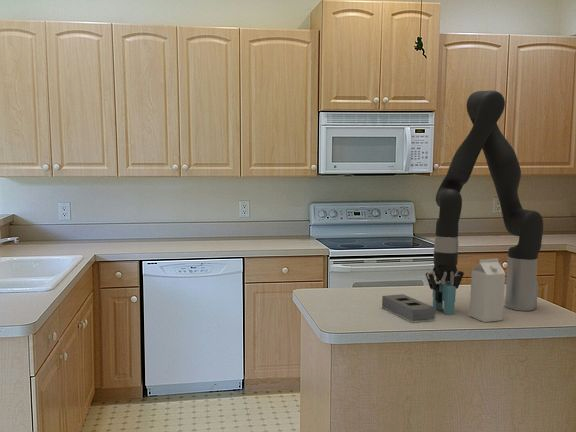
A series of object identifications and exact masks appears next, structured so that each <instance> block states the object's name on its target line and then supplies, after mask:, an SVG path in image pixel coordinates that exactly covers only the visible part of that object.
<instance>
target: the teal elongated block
mask: <svg viewBox="0 0 576 432" xmlns="http://www.w3.org/2000/svg"><path fill="white" fill-rule="evenodd" d="M456 292H457V289H456V287H455V286H452V285H449V284H446V283H444V285H443V288H442V303H437V302H436V300H435V290H433V289H432V307H434V308H435V311H438V310H443V315H447V316H448V315H454V314H455V303H456V297H457V296H456V295H457V293H456Z"/></svg>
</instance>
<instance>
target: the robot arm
mask: <svg viewBox="0 0 576 432" xmlns="http://www.w3.org/2000/svg"><path fill="white" fill-rule="evenodd" d="M505 107H506V100H505V98H504V96H503V94H502V93H501V92H499V91H496V90H479V91H478V90H477V91H474V92H472V93H471V94H470V95H469V96H468V98H467V100H466V112H467V114H468V117H469V119H470V121H471V123H472V128H471V129H470V131H469V133H468V135H467V136H466V138H465V139H464V140H463V141H462V142H461V144H460V145H459V147H458V148H457V149H456V151H455V153H454V155H453V157H452V160H451V162H450V165H449V167H448V170H447V173H446V175H445V177H444V178H443V180H442V181H441V184H440V185H439V187H438V190H437V191H436V194H435V203H436V206H438V207H439V213H438V214H439V215H438V218H437V219H436V223H435V235H434V237H435V238H434V243H433V244H434V245H433V246H434V248H433V264H434V266H433V268H432V270H431V271H430V272H426V273H425V277H426V280H427V282H428V285H429V289H430V290H432V291H433V290H435V300H436V302H437V303H442V288H443V285H444V283H446V284H449V285H452V286H455V287H456V290H457V289H458V288H459V286H460V284H461V282H462V279H463V277H464V274H465V273H464V272H463V271H461V270H458V268H457V265H458V262H459V261H458V259H459V223H460V222H459V221H460V217H461V214H462V207H463V198H462V194H461V191H462V189H463V186H464V185H465V184H467V183H468V182H469V180H470V177H471V175H472V173H473V170H474V167H475V166H476V165H475V164H476V163H477V160H478V158H479V156H480V153H481V151H482V152H483V154H484V158H485V161H486V164H487V167H488V170H489V173H490V176H491V179H492V181H493V184H494V185H493V186H494V188H495V191H496V194H497V198H498V201H499V205H500V210H501V216H502V220H503V223H504V227H505V229H506V231H507V232H508V233H509V234H510V235H512V236H514V237H518V242H517V244H516V245H515V246H511V247H509V248H508V252H507V266H506V267H507V269H506V270H507V271H506V280H505V297H504V299H505V300H504V306H505V307H506V308H508V309H509V310H515V311H521V312H522V311H523V312H524V311H525V312H530V311H534V310H536V309H537V308H538V306H537V305H538V294H539V293H538V292H539V280H537V273H538V272H537V271H538V260H539V259H538V258H539V253H540V251H541V248H542V242H543V241H542V240H543V232H544V219H543V216H542V215H541V213H540V212H539V211H536V210H529V209H524V208H523V206H522V204H521V201H520V198H519V193H518V192H519V191H518V190H519V185H520V183H521V177H522V171H521V166H520V162H519V160H518V159H519V158H518V157H517V154H516V152H515V150H514V148H513V147H512V145H511V143H510V142H509V141H508V139H506V137H505V136H504V134H503V133H502V132H501V130H500V128H499V124H498V122H499V120H500V118H501V117H502V114H503V113H504V110H505Z"/></svg>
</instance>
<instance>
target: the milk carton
mask: <svg viewBox="0 0 576 432" xmlns="http://www.w3.org/2000/svg"><path fill="white" fill-rule="evenodd" d="M470 278H471V279H470V297H469V298H470V299H469V317H471V318H473V319H476V320H477V321H478V320H479V321H481V322H483V323H488V322H489V323H490V322H498V321H503V317H504V305H505V300H504V299H505V288H506V272H505V270H504V269H503V267H502V265H501V263H499V258H484V259H483V258H482V259H481V258H480V259H479V262H478V264H476V266H474V267H473V268H472V269H471V277H470Z"/></svg>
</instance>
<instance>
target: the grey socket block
mask: <svg viewBox="0 0 576 432" xmlns="http://www.w3.org/2000/svg"><path fill="white" fill-rule="evenodd" d="M381 298H382V299H381V308H382V309H384V310H386V311H388V312H390V313H392V314H394V315H396V316H397V317H400V318H402V319H403V320H405V321H408V322H409V323H412V324H415V323H425V322H426V323H427V322H432V321H433V322H435V320H436V317H435V316H436V310H435V308H434V307H433V305H429V304H427V303H425V302H423V301H420V300H418V299H416V298H413V297H410V296H408V295H406V294H404V293H401V294H390V295H382V297H381Z"/></svg>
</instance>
